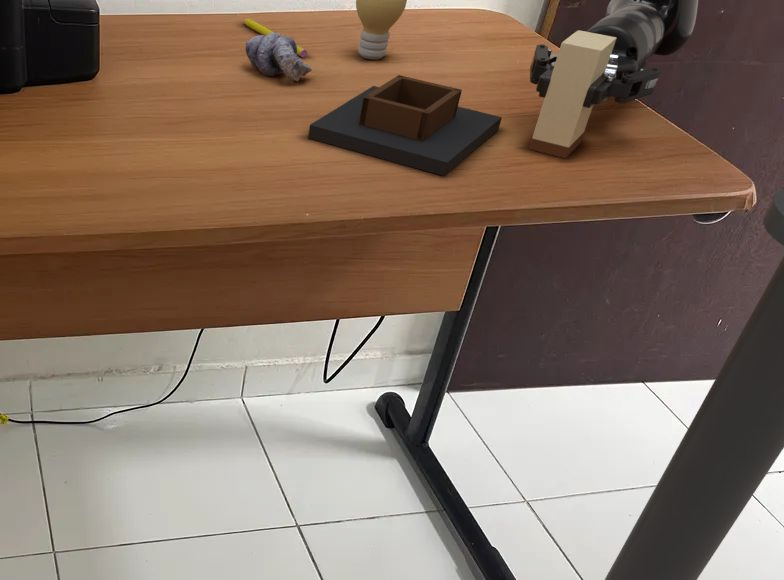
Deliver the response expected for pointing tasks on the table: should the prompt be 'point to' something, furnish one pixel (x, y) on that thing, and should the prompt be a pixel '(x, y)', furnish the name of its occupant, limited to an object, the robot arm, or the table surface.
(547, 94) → the cream rectangular block
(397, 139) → the square socket base
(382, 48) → the light bulb
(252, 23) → the pencil
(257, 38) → the grey knotted piece
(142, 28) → the table surface
